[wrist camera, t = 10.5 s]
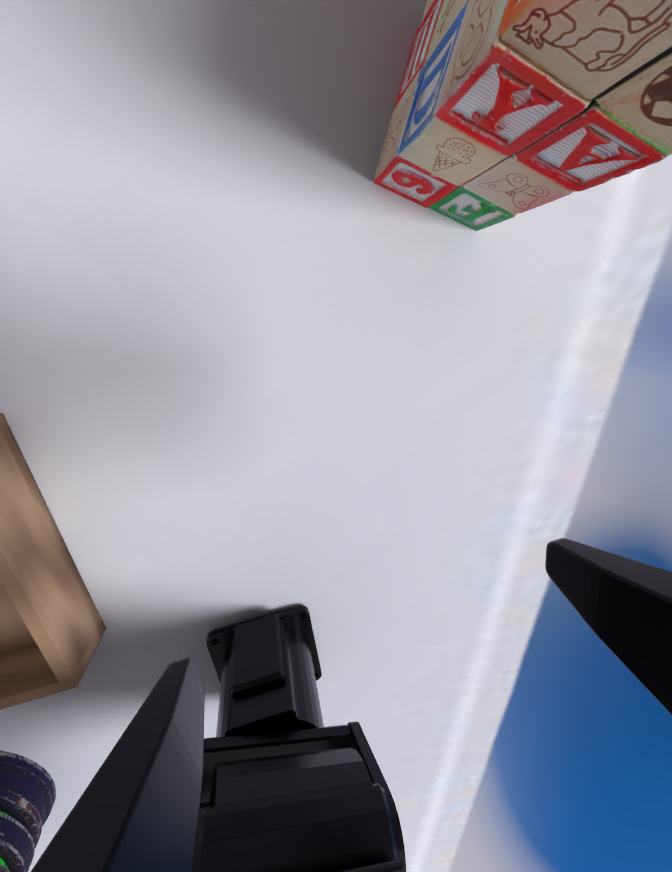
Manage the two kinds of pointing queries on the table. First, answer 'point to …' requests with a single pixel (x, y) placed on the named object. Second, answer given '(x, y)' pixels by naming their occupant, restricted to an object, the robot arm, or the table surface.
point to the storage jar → (22, 809)
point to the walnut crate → (38, 591)
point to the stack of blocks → (528, 103)
